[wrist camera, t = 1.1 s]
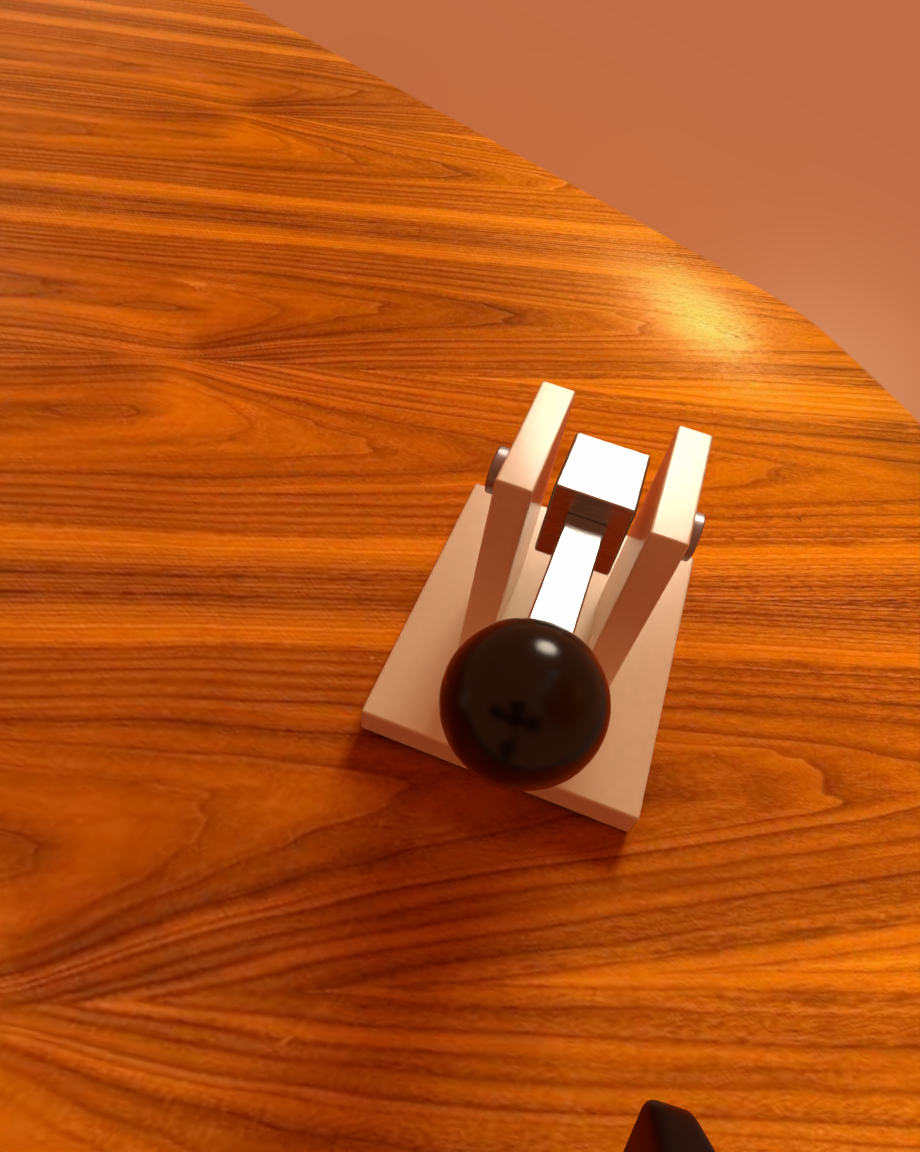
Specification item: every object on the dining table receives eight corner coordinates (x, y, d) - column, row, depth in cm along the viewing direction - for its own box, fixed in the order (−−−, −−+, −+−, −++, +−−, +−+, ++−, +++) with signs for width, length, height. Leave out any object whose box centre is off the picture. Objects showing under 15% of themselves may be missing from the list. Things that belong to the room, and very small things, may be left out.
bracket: (627, 833, 23) (757, 687, 16) (360, 728, 24) (366, 544, 17) (683, 576, 30) (793, 389, 22) (471, 502, 31) (511, 301, 24)
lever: (564, 849, 16) (618, 756, 13) (403, 784, 16) (426, 683, 13) (640, 541, 23) (683, 445, 21) (529, 503, 24) (559, 404, 21)
